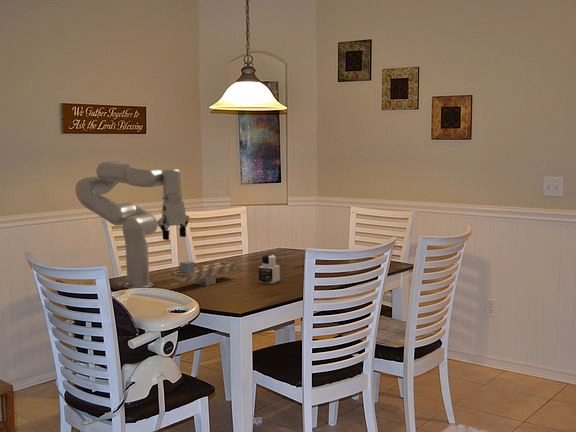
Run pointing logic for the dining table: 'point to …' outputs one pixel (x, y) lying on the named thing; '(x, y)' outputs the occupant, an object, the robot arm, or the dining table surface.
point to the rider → (187, 267)
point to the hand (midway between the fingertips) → (174, 238)
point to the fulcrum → (206, 280)
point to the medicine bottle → (269, 270)
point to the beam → (204, 271)
